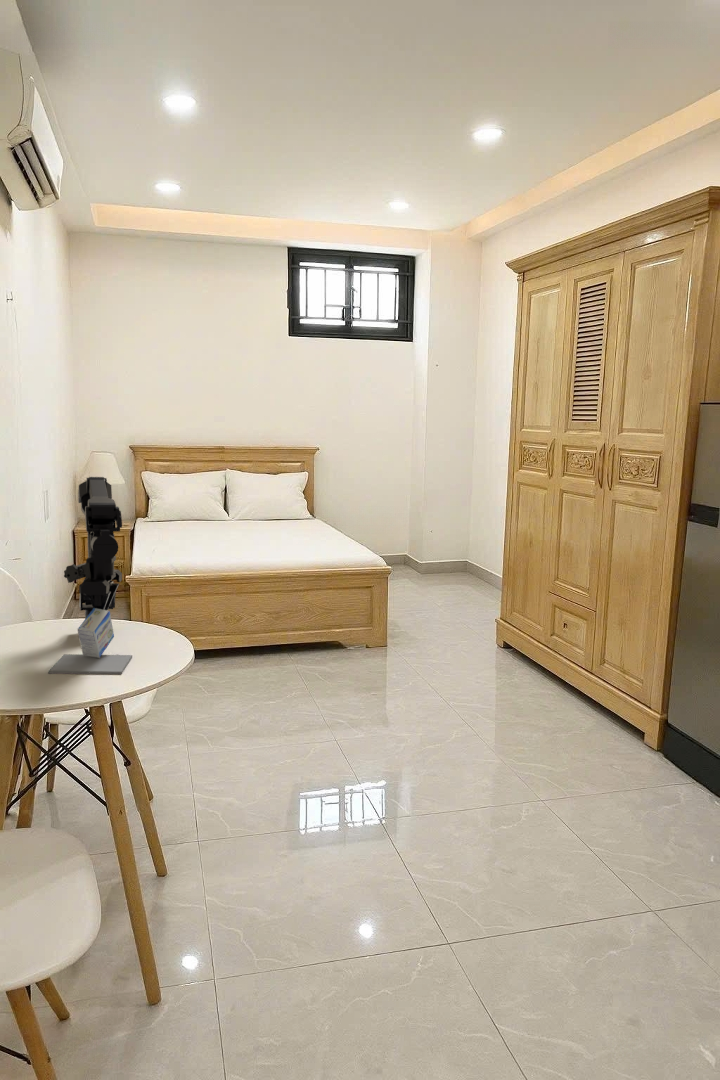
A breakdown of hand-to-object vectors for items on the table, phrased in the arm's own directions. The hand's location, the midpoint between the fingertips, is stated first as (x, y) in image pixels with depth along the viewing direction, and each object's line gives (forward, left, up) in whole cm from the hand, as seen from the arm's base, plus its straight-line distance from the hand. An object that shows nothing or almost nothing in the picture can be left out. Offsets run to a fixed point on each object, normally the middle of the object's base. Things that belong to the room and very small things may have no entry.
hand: (101, 615), depth 193 cm
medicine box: (+4, 0, -7) cm, 8 cm away
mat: (+11, 0, -9) cm, 15 cm away
